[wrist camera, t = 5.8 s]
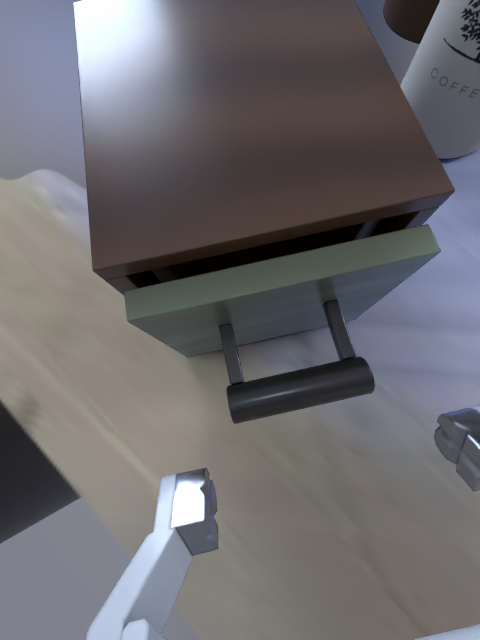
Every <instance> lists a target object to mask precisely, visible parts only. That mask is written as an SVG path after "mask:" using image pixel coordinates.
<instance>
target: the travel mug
mask: <svg viewBox="0 0 480 640" xmlns="http://www.w3.org/2000/svg"><path fill="white" fill-rule="evenodd" d="M400 87H401V89H402V91H403V93H404V95H405V97H406V98H407V100H408V102H409V104H410V106H411V108H412V110H413V112H414V114H415V115H416V117H417V119H418V121H419V123H420V125H421V127H422V129H423V131H424V132H425V134H426V136H427V138H428V140H429V142H430V144H431V146H432V148H433V149H434V151H435V153H436V155H437V157H438V158H443V159H446V158H457V157H461V156H464V155H467V154H469V153H472V152H473V151H475V150H476V149H478V148H479V147H480V0H440V2H439V4H438V6H437V9H436V11H435V13H434V15H433V17H432V19H431V21H430V24H429V26H428V28H427V30H426V32H425V34H424V36H423V39H422V41H421V43H420V45H419V47H418V49H417V51H416V54H415V56H414V58H413V60H412V62H411V64H410V67H409V69H408V71H407V73H406V75H405V77H404V79H403V82H402V84H401V86H400Z"/></svg>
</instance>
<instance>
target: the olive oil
mask: <svg viewBox="0 0 480 640" xmlns="http://www.w3.org/2000/svg"><path fill="white" fill-rule="evenodd" d="M439 2H440V0H385V3H384V8H383V14H384V18H385V20H386V23H387V24H388V26H389V27H390V28H391V30H392V31H394V32H395V33H396V34H397V35H399V36H400V37H402V38H404V39H406V40H408V41H411V42H414V43H418V44H420V43H421V41H422V39H423V36H424V34H425V32H426V30H427V28H428V26H429V24H430V21H431V19H432V17H433V15H434V13H435V11H436V9H437V6H438V4H439Z"/></svg>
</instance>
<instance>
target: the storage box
mask: <svg viewBox="0 0 480 640" xmlns="http://www.w3.org/2000/svg"><path fill="white" fill-rule="evenodd" d="M74 16H75V30H76V43H77V57H78V72H79V86H80V100H81V114H82V128H83V142H84V156H85V170H86V183H87V198H88V212H89V226H90V240H91V254H92V268H93V271H94V272H95V273H96V274H98V275H99V276H100V277H101V278H103V279H104V280H105V281H106V282H108V283H109V284H110V285H112V286H113V287H114V288H115V289H117V290H118V291H119V292H120V293H122V294H123V295H124V292H125V291H128V290H133V289H137V288H142V287H146V286H151V285H155V284H160V283H162V282H161V281H160V280H159V279H158V278H157V276H156V275H155V274H154V273H153V271H152V269H157V268H161V267H166V266H170V265H175V264H179V263H184V262H188V261H193V260H197V259H202V258H206V257H211V256H216V255H220V254H225V253H229V252H234V251H238V250H243V249H247V248H252V247H256V246H261V245H265V244H270V243H274V242H279V241H283V240H288V239H292V238H297V237H301V236H306V235H310V234H315V233H320V232H324V231H329V230H333V229H338V228H342V227H347V226H351V225H356V224H360V223H365V222H369V221H374V220H378V219H381V220H380V222H379V223H378V225H377V226H376V227H375V229H374V230H373V232H372V233H371V234H370V236H369V237H372V236H376V235H381V234H385V233H390V232H394V231H399V230H403V229H408V228H412V227H417V226H421V225H422V224H423V223H424V222H425V221H426V220H427V219H428V218H429V217H430V216H431V215H432V214H433V213H434V212H435V211H436V210H437V209H438V208H439V206H441V205H442V204H443V203H444V202H445V201H446V200H447V199H448V198H449V197H450V196H451V195H452V193H453V192H454V191H455V189H454V187H453V185H452V183H451V182H450V180H449V178H448V176H447V174H446V172H445V170H444V168H443V166H442V165H441V163H440V161H439V159H438V157H437V155H436V153H435V151H434V149H433V148H432V146H431V144H430V142H429V140H428V138H427V136H426V134H425V132H424V131H423V129H422V127H421V125H420V123H419V121H418V119H417V117H416V115H415V114H414V112H413V110H412V108H411V106H410V104H409V102H408V100H407V98H406V97H405V95H404V93H403V91H402V89H401V87H400V85H399V83H398V81H397V80H396V78H395V76H394V74H393V72H392V70H391V68H390V66H389V64H388V63H387V61H386V59H385V57H384V55H383V53H382V51H381V50H380V48H379V46H378V44H377V42H376V40H375V38H374V36H373V34H372V32H371V31H370V29H369V27H368V25H367V23H366V21H365V19H364V17H363V15H362V13H361V12H360V10H359V8H358V6H357V4H356V2H355V0H84V1H79V2H74ZM124 296H125V295H124Z"/></svg>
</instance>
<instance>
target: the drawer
mask: <svg viewBox="0 0 480 640" xmlns="http://www.w3.org/2000/svg"><path fill="white" fill-rule="evenodd" d="M380 220H381V219H378V220H374V221H369V222H365V223H360V224H356V225H351V226H347V227H342V228H338V229H333V230H329V231H324V232H320V233H315V234H310V235H306V236H301V237H297V238H292V239H288V240H283V241H279V242H274V243H270V244H265V245H261V246H256V247H252V248H247V249H243V250H238V251H234V252H229V253H225V254H220V255H216V256H211V257H206V258H202V259H197V260H193V261H188V262H184V263H179V264H175V265H170V266H166V267H161V268H157V269H152V271H153V273H154V274H155V275H156V276H157V278H158V279H159V280H160V281H161V282H162V283H160V284H155V285H151V286H146V287H142V288H137V289H133V290H128V291H125V292H124V295H125V304H126V314H127V321H128V322H129V323H131V324H133V325H134V326H136V327H138V328H139V329H141V330H143V331H144V332H146V333H148V334H149V335H151V336H153V337H154V338H156V339H158V340H159V341H161V342H163V343H164V344H166V345H168V346H169V347H171V348H173V349H174V350H176V351H178V352H179V353H181V354H183V355H184V356H186V357H189V356H194V355H198V354H203V353H207V352H212V351H216V350H221V349H223V350H224V355H225V360H226V365H227V370H228V375H229V380H230V384H231V385H230V386H227V399H228V404H229V409H230V414H231V417H232V421H233V423H234V424H237V423H241V422H246V421H250V420H255V419H259V418H263V417H268V416H272V415H277V414H281V413H286V412H290V411H294V410H299V409H303V408H308V407H312V406H317V405H321V404H325V403H330V402H334V401H339V400H343V399H348V398H352V397H356V396H361V395H365V394H370V393H372V392H373V391H374V387H375V383H374V377H373V374H372V371H371V369H370V367H369V365H368V363H367V362H366V360H365V359H364V358H362V357H356V353H355V350H354V347H353V344H352V341H351V338H350V336H349V333H348V330H347V327H346V324H345V322H346V321H350V320H355V319H356V318H357V317H359V316H360V315H361V314H362V313H364V312H365V311H366V310H367V309H369V308H370V307H371V306H373V305H374V304H375V303H376V302H378V301H379V300H380V299H381V298H383V297H384V296H385V295H387V294H388V293H389V292H390V291H392V290H393V289H394V288H395V287H397V286H398V285H399V284H401V283H402V282H403V281H404V280H406V279H407V278H408V277H409V276H411V275H412V274H413V273H415V272H416V271H417V270H418V269H420V268H421V267H422V266H423V265H425V264H426V263H427V262H428V261H430V260H431V259H432V258H434V257H435V256H436V255H437V254H439V253H440V252H441V250H440V248H439V245H438V243H437V241H436V239H435V237H434V235H433V233H432V231H431V229H430V227H429V225H428V224H426V225H421V226H417V227H412V228H408V229H403V230H399V231H394V232H390V233H385V234H381V235H376V236H372V237H369V236H370V234H371V233H372V232H373V230H374V229H375V227H376V226H377V225H378V223H379V222H380ZM328 325H329V328H330V331H331V334H332V337H333V340H334V343H335V347H336V350H337V353H338V356H339V359H340V360H341V361H337V362H332V363H328V364H323V365H319V366H314V367H310V368H305V369H301V370H297V371H292V372H288V373H283V374H279V375H274V376H270V377H265V378H261V379H257V380H252V381H248V382H244V378H243V373H242V369H241V364H240V359H239V355H238V350H237V346H239V345H243V344H248V343H252V342H256V341H261V340H265V339H270V338H274V337H279V336H283V335H288V334H292V333H297V332H301V331H306V330H310V329H315V328H319V327H323V326H328Z"/></svg>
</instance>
